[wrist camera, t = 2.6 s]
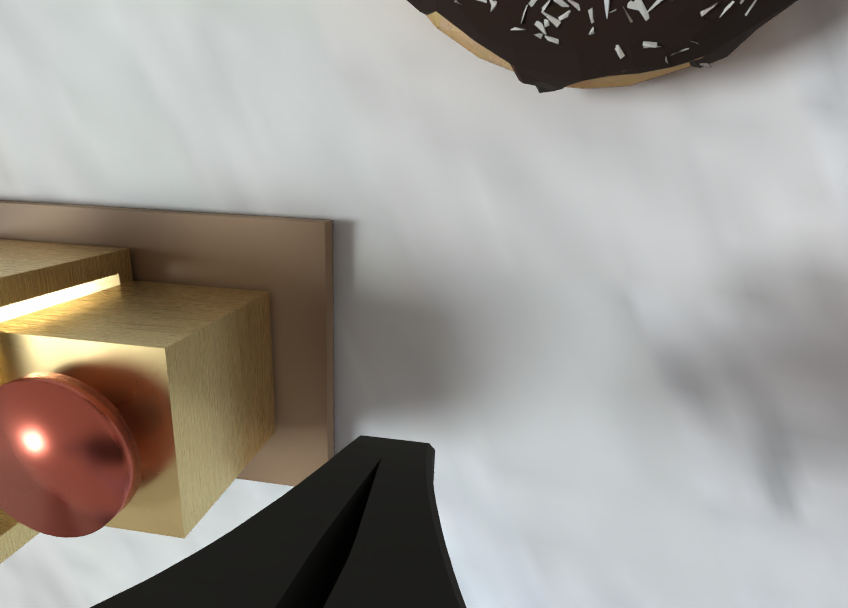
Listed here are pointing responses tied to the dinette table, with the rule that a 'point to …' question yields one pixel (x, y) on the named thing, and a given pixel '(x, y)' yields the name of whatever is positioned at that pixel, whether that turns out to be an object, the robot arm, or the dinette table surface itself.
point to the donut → (598, 36)
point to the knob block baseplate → (238, 269)
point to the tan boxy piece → (122, 394)
